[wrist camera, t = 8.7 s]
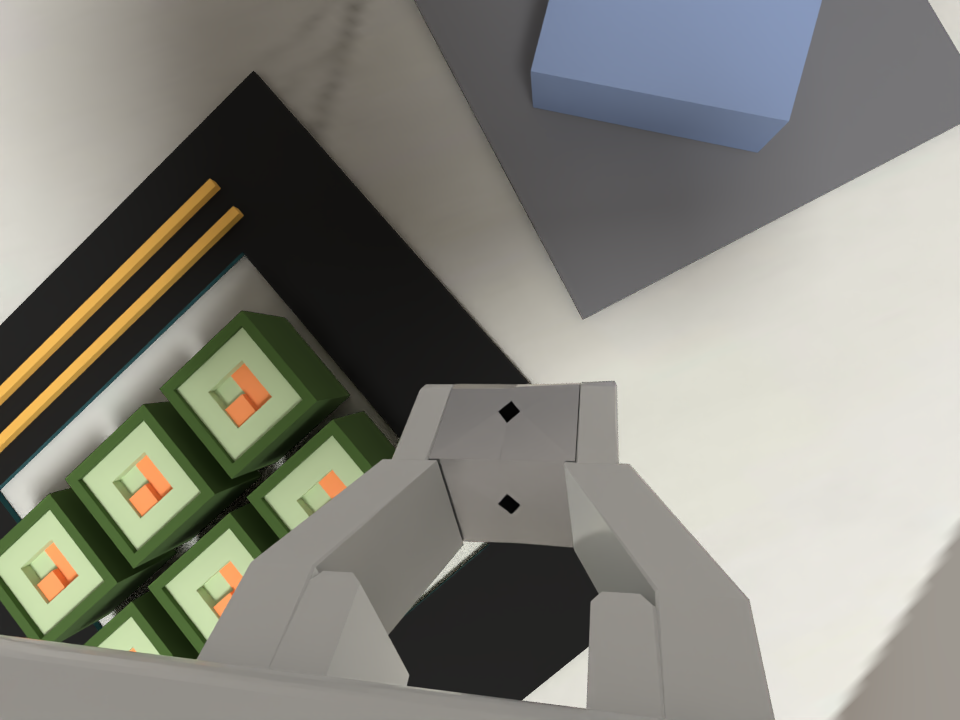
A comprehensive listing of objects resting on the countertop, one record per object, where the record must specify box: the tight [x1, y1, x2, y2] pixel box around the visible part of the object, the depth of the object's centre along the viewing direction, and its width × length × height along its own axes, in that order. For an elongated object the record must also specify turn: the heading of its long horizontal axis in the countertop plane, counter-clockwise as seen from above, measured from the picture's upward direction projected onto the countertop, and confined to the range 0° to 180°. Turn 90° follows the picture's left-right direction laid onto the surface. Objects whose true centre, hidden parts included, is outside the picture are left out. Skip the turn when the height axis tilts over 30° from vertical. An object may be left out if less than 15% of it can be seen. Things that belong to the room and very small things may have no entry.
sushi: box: [0, 71, 599, 700], centre depth 21 cm, size 25×25×4 cm
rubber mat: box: [414, 0, 960, 319], centre depth 20 cm, size 16×15×1 cm
